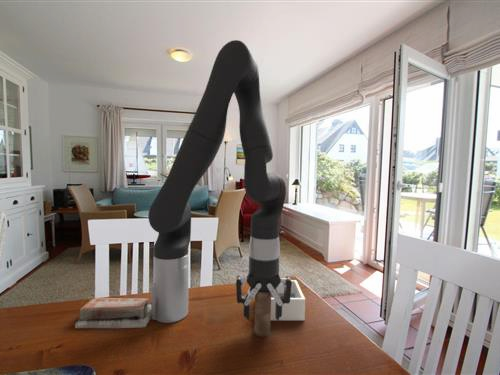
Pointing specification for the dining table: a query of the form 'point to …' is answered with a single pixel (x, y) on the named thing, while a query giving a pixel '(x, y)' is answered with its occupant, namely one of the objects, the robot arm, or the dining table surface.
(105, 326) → the packaged product
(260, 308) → the peg
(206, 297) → the dining table surface
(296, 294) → the open box
